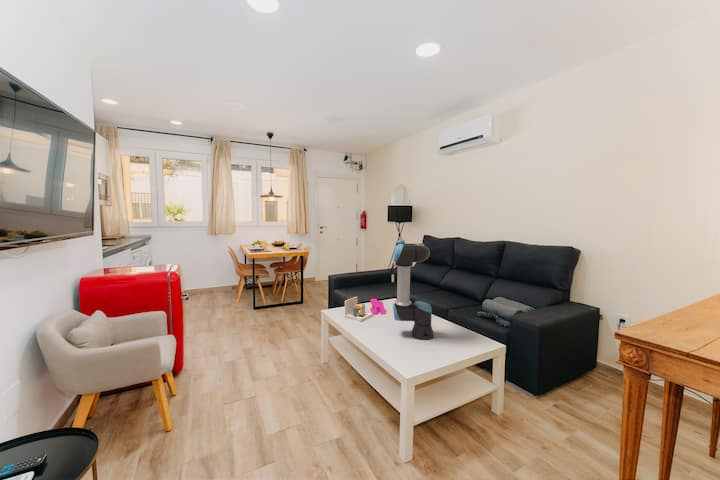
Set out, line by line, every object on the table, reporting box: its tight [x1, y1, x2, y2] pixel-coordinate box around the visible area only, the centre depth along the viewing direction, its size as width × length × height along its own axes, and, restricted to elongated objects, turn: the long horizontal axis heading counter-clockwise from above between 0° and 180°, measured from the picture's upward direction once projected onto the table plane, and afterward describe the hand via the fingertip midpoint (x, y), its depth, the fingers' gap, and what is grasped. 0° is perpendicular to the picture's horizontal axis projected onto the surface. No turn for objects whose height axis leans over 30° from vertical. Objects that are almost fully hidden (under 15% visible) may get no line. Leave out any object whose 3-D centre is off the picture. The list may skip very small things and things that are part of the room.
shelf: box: [344, 296, 374, 323], centre depth 241 cm, size 17×16×14 cm
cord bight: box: [354, 303, 366, 316], centre depth 240 cm, size 8×4×7 cm, turn 53°
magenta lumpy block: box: [369, 298, 386, 316], centre depth 252 cm, size 12×10×10 cm
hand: (399, 283), depth 246 cm, fingers open, 13 cm apart
